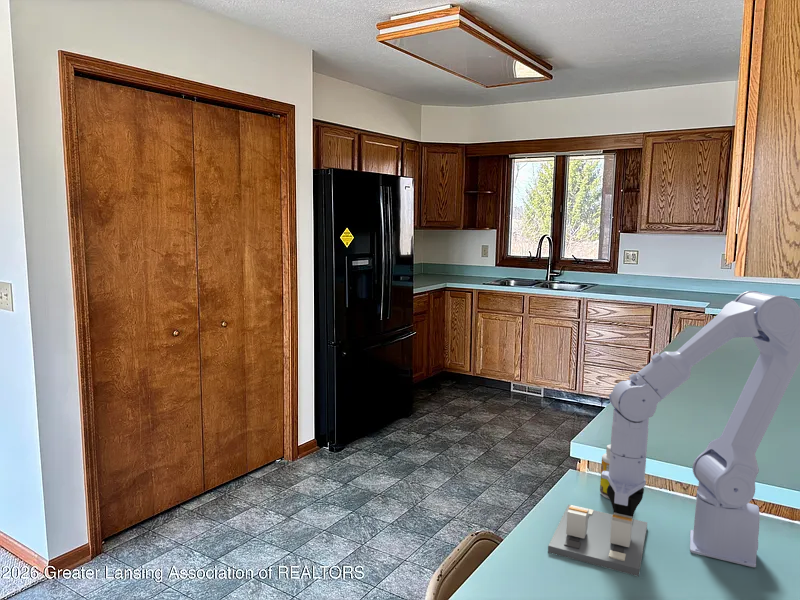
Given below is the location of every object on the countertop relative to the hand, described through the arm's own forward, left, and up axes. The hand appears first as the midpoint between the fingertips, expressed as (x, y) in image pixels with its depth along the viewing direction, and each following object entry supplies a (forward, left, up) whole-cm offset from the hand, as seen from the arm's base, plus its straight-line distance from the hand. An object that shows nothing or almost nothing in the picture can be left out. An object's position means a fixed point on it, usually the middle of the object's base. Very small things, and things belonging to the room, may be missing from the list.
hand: (622, 528), depth 100 cm
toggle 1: (+7, +4, -1) cm, 8 cm away
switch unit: (+3, +1, -2) cm, 4 cm away
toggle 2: (0, +3, -1) cm, 3 cm away
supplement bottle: (+3, -19, -3) cm, 19 cm away
